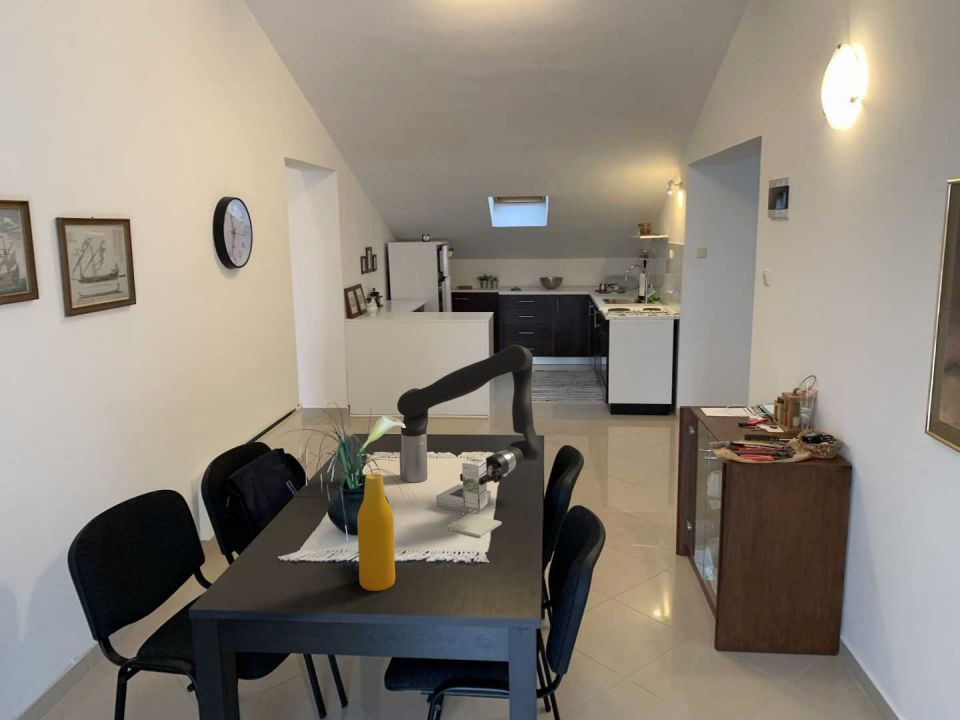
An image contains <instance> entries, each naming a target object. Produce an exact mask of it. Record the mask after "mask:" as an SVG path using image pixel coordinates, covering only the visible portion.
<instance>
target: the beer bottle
mask: <svg viewBox="0 0 960 720" xmlns="http://www.w3.org/2000/svg"><path fill="white" fill-rule="evenodd" d="M364 478H365V480H364V492H363V501H362V503H361V505H360V508H359V510H358V513H357V520H356V522H357V523H356V524H357V542H358V547H357V548H358V549H357V550H358V569H359V570H358V572H359V573H358V575H359V577H358V578H359V584H360V586H361V587H362V588H363V589H364V590H365V591H371V592H379V591H385V590H387V589H389V588H391V587H393V585H394V584H395V581H396V567H395V566H396V565H395V564H396V563H395V561H396V560H395V559H396V558H395V534H394V533H395V532H394V531H395V530H394V529H395V528H394V527H395V526H394V522H395V521H394V520H395V519H394V514H393V510H392V507H391V506H390V504H389V502H388V500H387V497H386V492H385V485H384V479H383V475H382V474H380V473H369V474H366V475H365V477H364Z"/></svg>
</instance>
